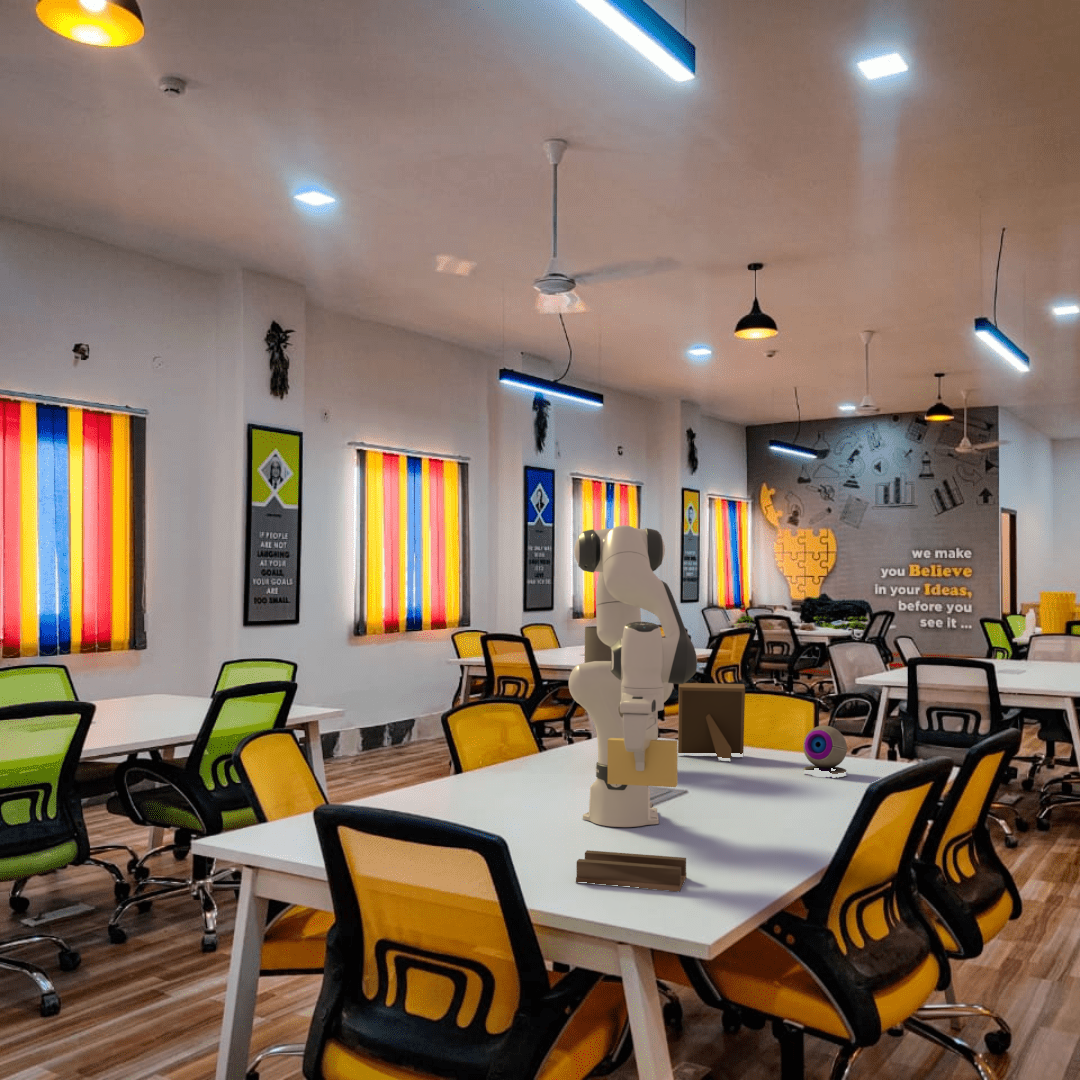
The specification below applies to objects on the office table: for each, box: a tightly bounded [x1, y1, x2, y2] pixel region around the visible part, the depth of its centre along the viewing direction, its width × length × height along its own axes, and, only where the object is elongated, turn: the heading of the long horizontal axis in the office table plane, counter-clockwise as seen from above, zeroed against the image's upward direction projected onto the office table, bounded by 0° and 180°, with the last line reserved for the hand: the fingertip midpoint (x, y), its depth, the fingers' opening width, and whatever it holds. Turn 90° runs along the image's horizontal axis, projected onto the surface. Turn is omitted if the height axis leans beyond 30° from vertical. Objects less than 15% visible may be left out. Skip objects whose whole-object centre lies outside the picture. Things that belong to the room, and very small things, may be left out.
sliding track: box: [575, 849, 687, 892], centre depth 204 cm, size 10×20×4 cm, turn 75°
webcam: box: [803, 725, 848, 774], centre depth 323 cm, size 13×13×15 cm
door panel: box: [608, 738, 678, 788], centre depth 215 cm, size 3×14×9 cm, turn 75°
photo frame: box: [677, 682, 746, 759], centre depth 352 cm, size 15×22×25 cm
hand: (642, 768), depth 215 cm, fingers closed on door panel, 3 cm apart
